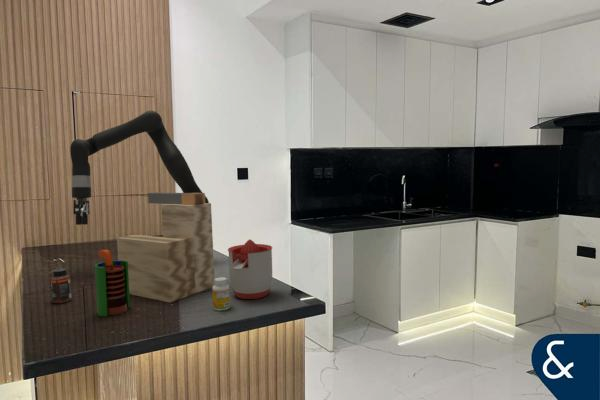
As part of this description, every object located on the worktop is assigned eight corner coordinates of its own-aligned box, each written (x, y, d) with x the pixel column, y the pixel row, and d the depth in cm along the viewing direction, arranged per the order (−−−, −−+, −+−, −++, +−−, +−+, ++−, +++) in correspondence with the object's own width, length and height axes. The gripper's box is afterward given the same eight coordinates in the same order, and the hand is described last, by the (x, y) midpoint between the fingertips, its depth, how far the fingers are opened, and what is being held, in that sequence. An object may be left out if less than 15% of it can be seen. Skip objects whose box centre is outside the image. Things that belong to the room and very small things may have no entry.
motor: (115, 317, 139) (111, 254, 137) (90, 315, 141) (85, 253, 139) (133, 306, 149) (130, 247, 147) (110, 305, 151) (106, 247, 149)
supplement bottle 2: (214, 305, 147) (212, 277, 146) (230, 305, 148) (229, 276, 147) (212, 311, 142) (211, 281, 141) (229, 310, 142) (228, 280, 141)
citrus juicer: (218, 301, 152) (215, 243, 150) (243, 287, 168) (241, 235, 166) (259, 305, 146) (256, 245, 144) (281, 290, 162) (279, 236, 161)
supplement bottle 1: (75, 299, 159) (73, 268, 158) (61, 304, 153) (59, 272, 152) (62, 298, 161) (60, 267, 160) (48, 303, 155) (46, 271, 154)
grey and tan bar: (158, 202, 181) (158, 192, 180) (205, 203, 167) (204, 193, 166) (146, 203, 175) (145, 193, 175) (193, 205, 162) (192, 194, 161)
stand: (166, 278, 185) (162, 201, 182) (214, 286, 170) (210, 203, 168) (120, 292, 166) (114, 207, 164) (169, 302, 152) (164, 209, 149)
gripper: (86, 185, 184) (86, 224, 184) (95, 187, 198) (95, 224, 198) (66, 185, 183) (67, 225, 182) (77, 187, 197) (77, 224, 196)
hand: (82, 224), depth 190 cm, fingers open, 8 cm apart
